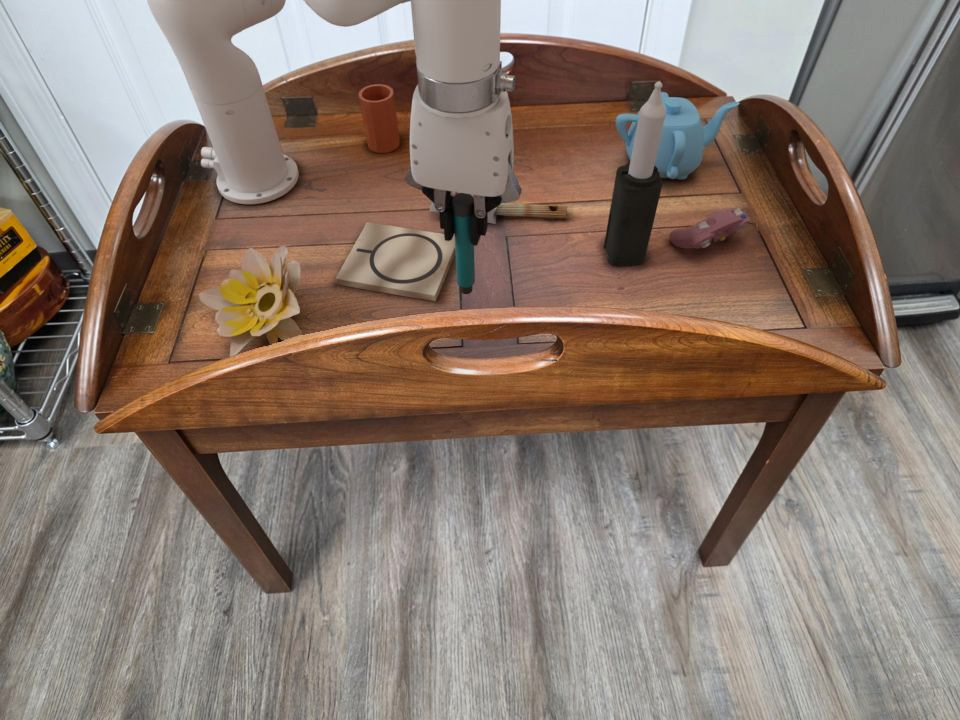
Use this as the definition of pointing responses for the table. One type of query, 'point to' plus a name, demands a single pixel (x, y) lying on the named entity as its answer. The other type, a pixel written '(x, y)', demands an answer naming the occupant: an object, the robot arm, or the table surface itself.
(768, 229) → the table surface
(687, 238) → the purple toy car
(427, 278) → the sketch board
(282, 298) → the decorative flower
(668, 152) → the teapot
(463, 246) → the marker
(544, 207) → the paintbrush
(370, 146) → the pen cup
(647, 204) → the candle
